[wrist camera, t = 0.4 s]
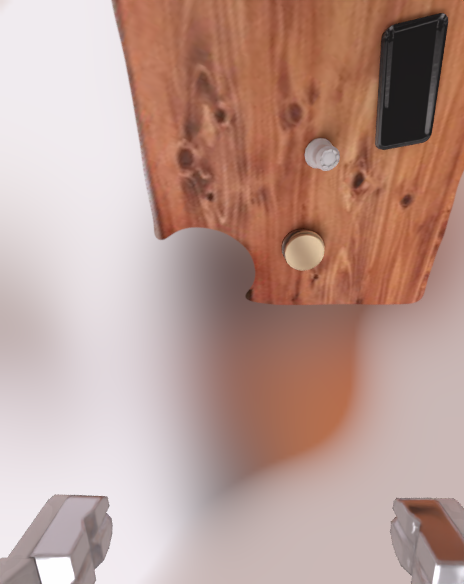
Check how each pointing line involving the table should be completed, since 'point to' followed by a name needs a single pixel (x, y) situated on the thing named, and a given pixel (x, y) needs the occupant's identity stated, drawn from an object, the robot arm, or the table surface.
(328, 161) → the rook chess piece
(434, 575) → the robot arm
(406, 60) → the phone
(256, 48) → the table surface
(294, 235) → the chip pile
